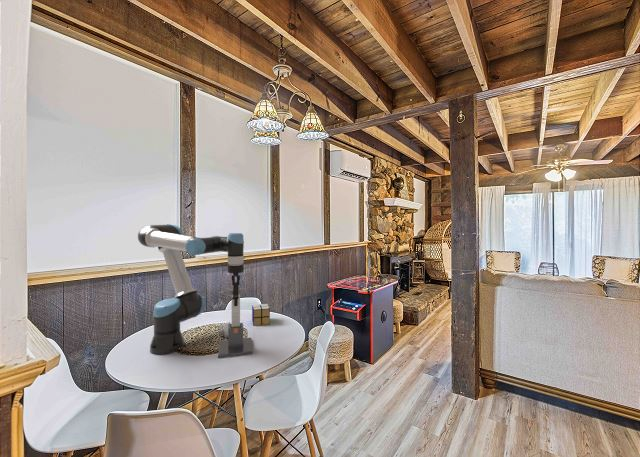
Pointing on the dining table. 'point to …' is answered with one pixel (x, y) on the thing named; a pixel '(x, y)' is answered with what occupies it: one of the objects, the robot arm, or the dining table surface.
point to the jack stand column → (234, 315)
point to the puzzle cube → (260, 314)
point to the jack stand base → (235, 343)
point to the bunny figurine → (223, 329)
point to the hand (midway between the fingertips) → (235, 308)
